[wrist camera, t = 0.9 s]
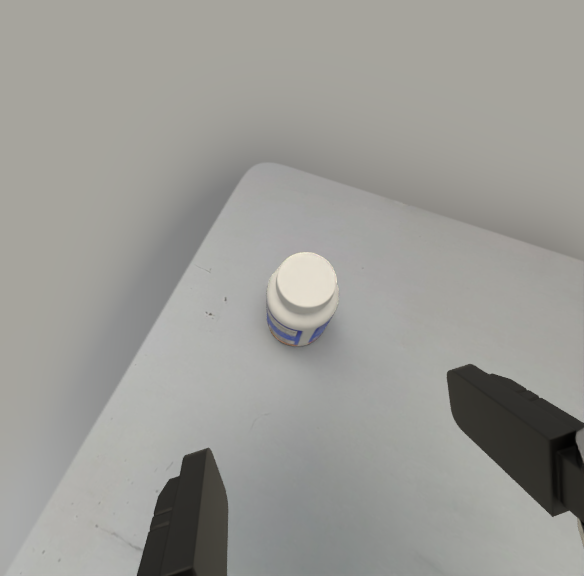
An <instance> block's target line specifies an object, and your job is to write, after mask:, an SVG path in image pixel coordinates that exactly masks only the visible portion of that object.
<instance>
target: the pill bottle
mask: <svg viewBox="0 0 584 576" xmlns="http://www.w3.org/2000/svg"><path fill="white" fill-rule="evenodd" d="M338 301H339V289H338V285H337V279H336V274H335V271H334V269H333V267H332V266H331V264H330V263H329V262H328V261H327V260H326V259H325V258H323V257H322V256H320V255H317V254H315V253H310V252H301V253H297V254H294V255H291V256H290V257H288V258H287V259H286V260H285V261H284V262H283V263H282V264H281V266H280V267H279V268H278V269H277V270H276V271H275V272H274V273H273V275H272V276H271V278H270V280H269V283H268V286H267V293H266V302H267V322H268V326H269V328H270V331H271V332H272V334H273V335H274V336H275V337H276V338H277V339H278V340H279V341H280V342H282V343H284V344H287V345H290V346H304V345H308V344H310V343H312V342H313V341H315V340H316V339H317V338H318V337H319V336H320V335H321V334H322V332H323V331H324V329H325V327H326V326H327V324H328V323H329V321H330V319H331V318H332V316H333V314H334V313H335V311H336V308H337V306H338Z"/></svg>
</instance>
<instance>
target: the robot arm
mask: <svg viewBox="0 0 584 576" xmlns="http://www.w3.org/2000/svg"><path fill="white" fill-rule="evenodd" d="M447 383H448V390H449V398H450V405H451V411H452V415H453V417H454V420H455V421H456V423H457V425H458V426H459V428H460V429H461V430H462V431H463V432H464V433H465V434H466V435H467V436H468V437H469V438H470V439H472V440H473V441H474V442H475V443H476V444H477V445H478V446H479V447H480V448H481V449H482V450H483V451H484V452H485V453H486V454H487V455H488V456H489V457H490V458H491V459H493V460H494V461H495V462H496V463H497V464H498V465H499V466H500V467H501V468H502V469H503V470H504V471H505V472H506V473H507V474H508V475H509V476H510V477H511V478H512V479H513V480H515V481H516V482H517V483H518V484H519V485H520V486H521V487H522V488H523V489H524V490H525V491H526V492H527V493H528V494H529V495H530V496H531V497H532V498H533V499H534V500H536V501H537V502H538V503H539V504H540V505H541V506H542V507H543V508H544V509H545V510H546V511H547V512H548V513H549V514H550V515H551V516H552V517H554V516H556V515H559V514H561V513H564V512H567V511H569V510H570V511H571V512H572V513H573V514H574V515H575V516H576V517H577V521H578V529H579V533H580V536H581V540H582V543H583V547H584V423H583V422H581V421H579V420H578V419H576V418H574V417H573V416H571V415H569V414H568V413H566V412H564V411H563V410H561V409H559V408H558V407H556V406H554V405H553V404H551V403H549V402H548V401H546V400H544V399H543V398H539V397H538V395H536V394H534V393H533V392H531V391H529V390H528V391H527V390H526V388H524V387H523V386H521V385H519V384H518V383H516V382H514V381H513V380H511V379H508V378H505V377H502V376H498V375H495V374H490V375H489V374H487V373H485V372H484V371H482V370H481V369H479V368H478V367H476V366H474V365H472V364H468V365H465V366H462V367H459V368H456V369H452V370H449V371H448V372H447ZM227 541H228V501H227V495H226V490H225V487H224V484H223V481H222V478H221V476H220V473H219V470H218V467H217V465H216V462H215V459H214V456H213V454H212V451H211V450H210V448H206V449H203V450H200V451H197V452H194V453H191V454H188V455H185V456H184V458H183V462H182V466H181V471H180V476H178V477H175V478H172V479H169V481H168V482H167V484H166V485H165V487H164V488H163V490H162V491H161V493H160V494H159V496H158V499H157V503H156V507H155V510H154V517H153V518H152V522H151V525H150V532H149V533H148V536H147V540H146V544H145V547H144V551H143V555H142V559H141V562H140V566H139V570H138V573H137V576H227Z"/></svg>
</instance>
